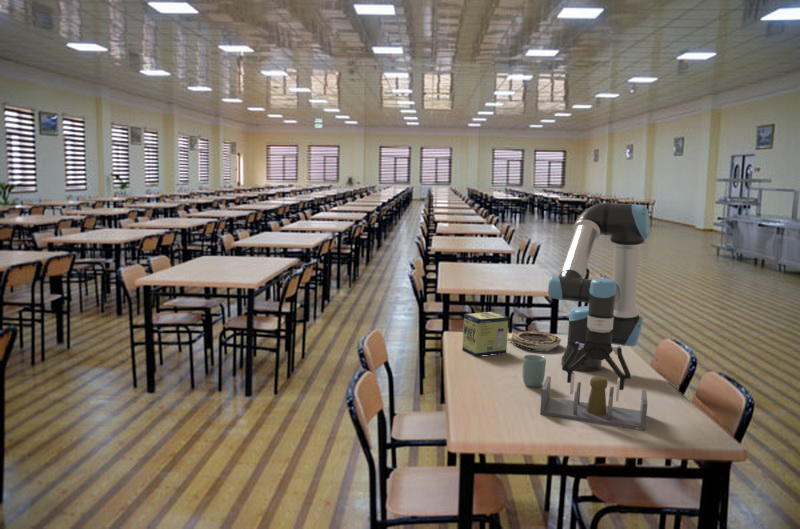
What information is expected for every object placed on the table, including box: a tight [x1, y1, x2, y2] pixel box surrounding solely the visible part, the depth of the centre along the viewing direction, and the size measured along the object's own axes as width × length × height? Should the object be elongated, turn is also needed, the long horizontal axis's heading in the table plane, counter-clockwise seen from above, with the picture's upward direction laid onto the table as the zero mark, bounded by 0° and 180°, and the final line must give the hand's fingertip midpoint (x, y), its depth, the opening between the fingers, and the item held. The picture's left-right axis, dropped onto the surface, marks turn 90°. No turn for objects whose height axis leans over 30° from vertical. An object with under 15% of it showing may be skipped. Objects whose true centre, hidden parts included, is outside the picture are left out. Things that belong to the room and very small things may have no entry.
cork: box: [586, 376, 608, 415], centre depth 200 cm, size 6×6×11 cm
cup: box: [521, 354, 547, 388], centre depth 226 cm, size 8×8×10 cm
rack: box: [539, 375, 648, 430], centre depth 201 cm, size 30×14×8 cm, turn 71°
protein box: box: [461, 311, 509, 357], centre depth 266 cm, size 10×16×16 cm
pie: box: [507, 330, 562, 352], centre depth 279 cm, size 28×27×5 cm
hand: (594, 396), depth 201 cm, fingers open, 13 cm apart
